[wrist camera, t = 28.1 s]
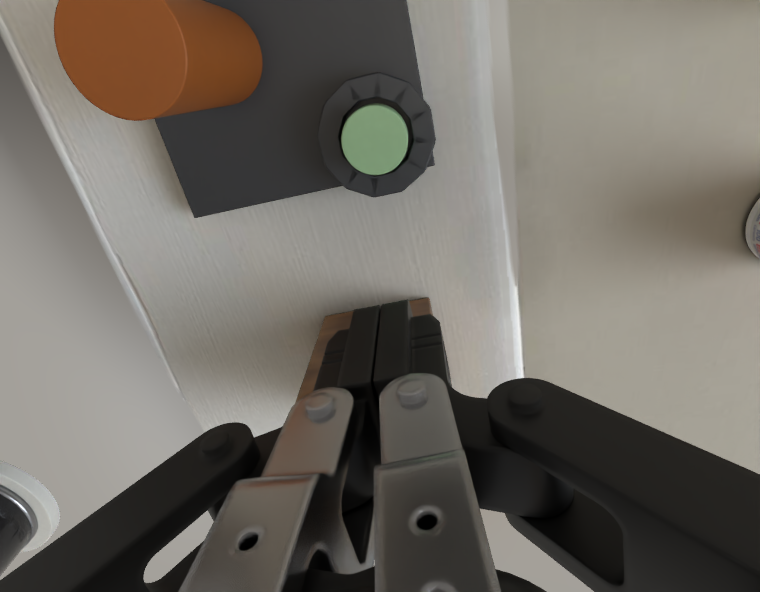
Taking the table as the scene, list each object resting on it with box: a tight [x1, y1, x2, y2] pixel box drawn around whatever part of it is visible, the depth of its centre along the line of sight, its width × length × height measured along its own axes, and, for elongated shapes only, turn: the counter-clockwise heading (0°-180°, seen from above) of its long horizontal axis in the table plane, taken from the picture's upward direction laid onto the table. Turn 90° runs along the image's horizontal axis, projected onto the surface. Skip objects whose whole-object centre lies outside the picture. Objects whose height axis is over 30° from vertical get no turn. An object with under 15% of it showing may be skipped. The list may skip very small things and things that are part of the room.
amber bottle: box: [54, 0, 262, 121], centre depth 22 cm, size 5×5×10 cm
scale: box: [154, 0, 436, 218], centre depth 27 cm, size 16×14×4 cm
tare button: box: [341, 103, 408, 175], centre depth 26 cm, size 4×4×2 cm
